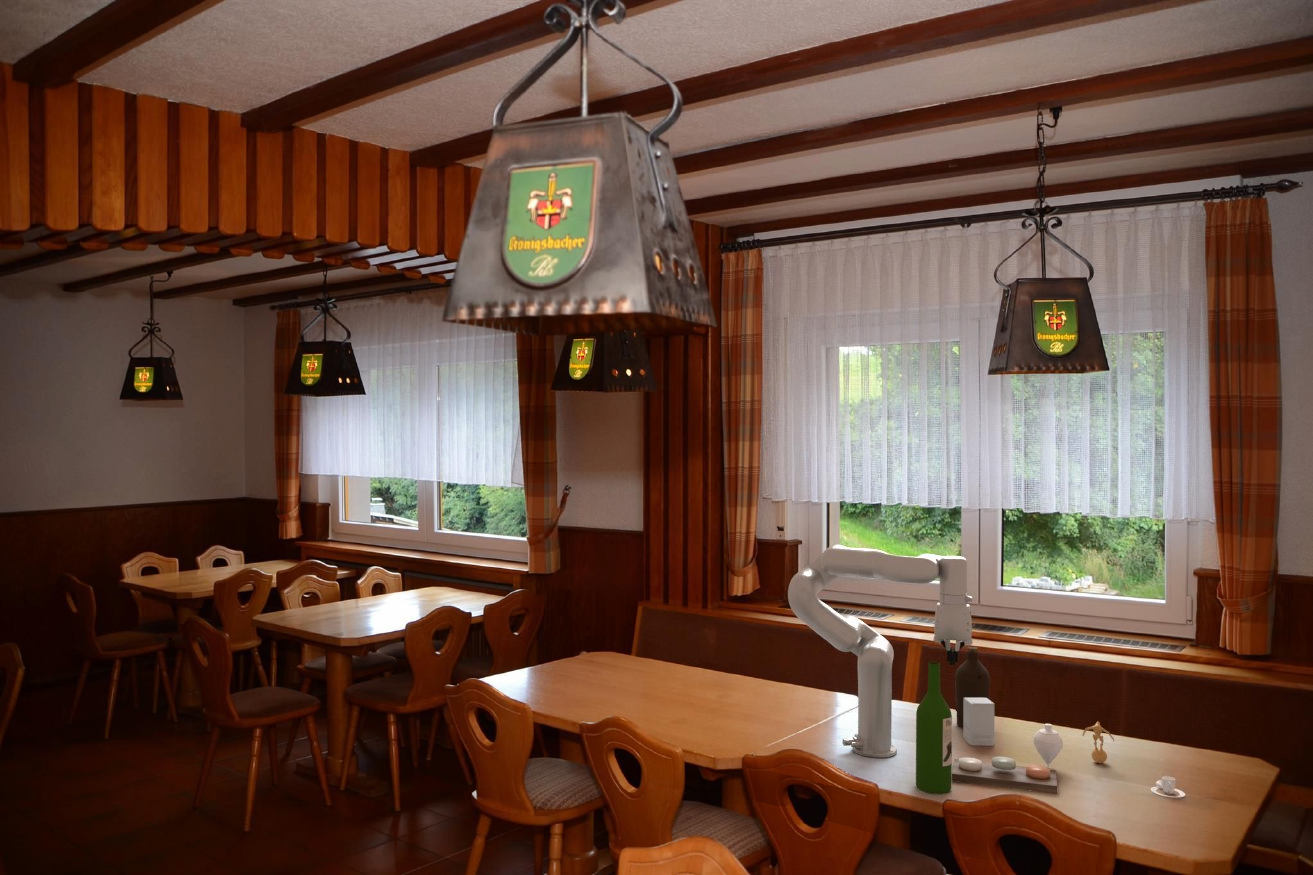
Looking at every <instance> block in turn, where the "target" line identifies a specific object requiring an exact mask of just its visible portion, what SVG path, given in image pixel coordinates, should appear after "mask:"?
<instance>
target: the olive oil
mask: <svg viewBox="0 0 1313 875" xmlns="http://www.w3.org/2000/svg"><path fill="white" fill-rule="evenodd" d="M966 656H967V657H966V660H964V662H962V663H961V664H960V665H959V666H958V668H957V669H956V672H955V675H954V682H955V683H954V684H955V685H954V686H955V703H956V704H955V705H956V706H955V712H956V726H958V727H960V728H961V729H963V701H964V698H988V699H989V700H990V686H991V677H990V673H989V671H988V670H987V668H986V667H985V666H984V665H983V664H982V662H981V661H980V660H979V649H978V647H976V646H967V652H966Z"/></svg>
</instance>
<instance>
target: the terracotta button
mask: <svg viewBox="0 0 1313 875" xmlns="http://www.w3.org/2000/svg"><path fill="white" fill-rule="evenodd" d="M1025 767H1026V775H1028V776H1030V777H1033V778H1039V779H1046V778H1049V777H1050V770H1051V769H1050V767H1049V768H1048V767H1047V766H1044V765H1038V764H1029V765H1026V766H1025Z"/></svg>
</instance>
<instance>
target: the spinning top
mask: <svg viewBox="0 0 1313 875" xmlns="http://www.w3.org/2000/svg"><path fill="white" fill-rule="evenodd" d="M1032 741H1033V744H1034V747H1035V749H1036V751H1037V753H1038V755H1040V757H1041V759H1042V761H1043V762H1044V763H1045V764H1046V765H1047V766H1046V767H1047V768H1049V769H1050V767H1049V765H1051V763H1053V762H1054V760H1055V759H1056V758H1057V757H1058V755H1059V754H1060V753H1061V751H1062V749H1063V746H1064V740H1063V737H1062V736H1061V735H1060V733H1059V732H1058V731H1057V730H1054V729H1053V724H1051V723H1045V724H1044V728H1041V729H1038V731H1037V732H1036V733H1035V734H1034V736H1033V740H1032Z"/></svg>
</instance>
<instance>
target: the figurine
mask: <svg viewBox="0 0 1313 875" xmlns="http://www.w3.org/2000/svg"><path fill="white" fill-rule="evenodd" d="M1090 730H1093V732H1094V733H1093V734H1092V739H1093V740H1094V742H1093V744H1094V749H1093V750H1092V752H1091V758H1092V760H1093V761H1094V762H1095V763H1098V764H1104V763H1105V762H1106V761H1107V760H1108V756H1107V755H1108V754H1107V752H1106V751H1105V749H1103V745H1104V736H1103V735H1101V734H1102V732H1104V733H1106V734H1108V735H1109V737H1110V738H1111V740H1113V742H1115V738H1114V737H1113V736H1112V735H1111V732H1110V731H1108V730H1106V729H1105V728H1103V727H1102V726H1101V724H1100V721H1096V723H1095V724H1094V725H1092V726H1089V727H1085V728H1084V731H1083V733H1082V736H1081V737H1084V736H1085V733H1086V732H1087V731H1090ZM1098 740H1099V741H1100V744H1099V745H1100V746H1099V748H1098V747H1097V741H1098Z"/></svg>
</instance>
